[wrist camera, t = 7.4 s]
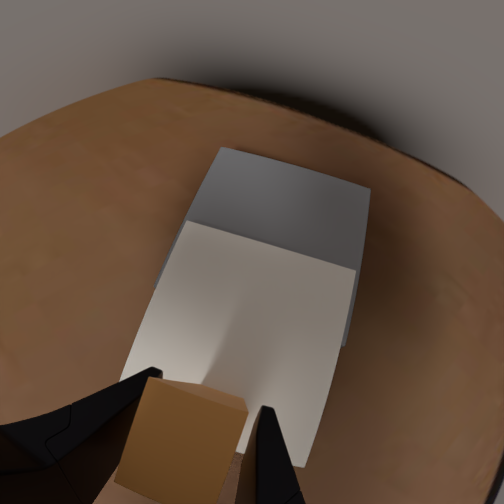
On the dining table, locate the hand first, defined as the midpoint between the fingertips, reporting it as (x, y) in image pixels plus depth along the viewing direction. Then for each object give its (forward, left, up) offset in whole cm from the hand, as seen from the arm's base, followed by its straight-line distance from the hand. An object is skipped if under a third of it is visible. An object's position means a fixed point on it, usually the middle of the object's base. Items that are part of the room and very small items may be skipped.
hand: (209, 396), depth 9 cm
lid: (+2, -2, -7) cm, 8 cm away
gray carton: (+8, -8, -10) cm, 14 cm away
